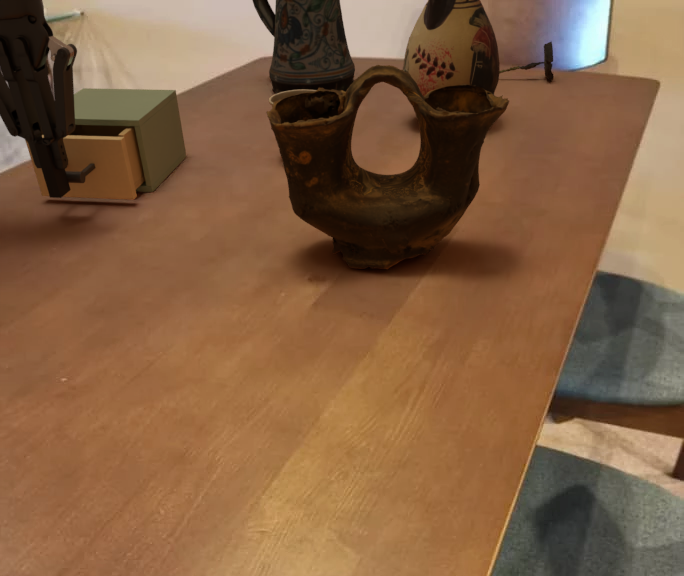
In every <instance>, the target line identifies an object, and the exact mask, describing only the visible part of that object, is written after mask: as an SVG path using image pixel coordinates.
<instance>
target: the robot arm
mask: <svg viewBox="0 0 684 576" xmlns="http://www.w3.org/2000/svg"><path fill="white" fill-rule="evenodd" d="M49 54H50V60H51V61H52V62H53V64H52V80H53V81H52V82H53V83H52V84H53V91H52V87H51V82H50V79H49V72H50V71H49V67H48V63H47V59H48V56H49ZM77 54H78V49H77V47H76V45H74V44H73V43H69V44H66V43H65V42H63V41H62V40H60V39H58V38H57V37H55V36H54V32H53V29H52V28H51V26H50V24H49V23H48V21H47V20H46V15H45V6H44V2H43V0H0V118H1V120H2V122H3V124H4V126H5V127H6V129H7V131H8V133H9V135H10V136H12V137H19V138H22V139H24V140H26V141H27V142H28V144H29V147H30V151H31V154H32V157H33V161H34V164H35V165H36V167H37V168H41V169H42V172H43V175H44V179H45V182H46V186H47V189H48V192H49V196H48V197H49V198H51V199H52V198H54V199H62V198H64V197H63V196H64V195H65V194H66V193H67V192H69V191H70V190H71V189H70V186H69V182H68V178H67V175H66V171H65V167H66V166H67V165H68V157H67V154H66V150H65V146H64V142H63V138H64V137H66V136H67V135H69V134H70V133H72V132H73V131H74V130H75V109H74V94H75V91H74V68H73V67H74V63H75V60H76V56H77ZM53 93H54V94H53ZM42 135H44V138H42ZM26 141H25V142H26Z"/></svg>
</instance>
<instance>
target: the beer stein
mask: <svg viewBox="0 0 684 576" xmlns="http://www.w3.org/2000/svg"><path fill="white" fill-rule="evenodd" d="M252 3H253V7H254V9H255V11H256V13H257V15H258V17H259V18H260V21H261V22H262V23H263V25H264V26H265V28H266V30H268V32H269V34H271V36H272V37H273V50H272V56H271V57H272V58H271V63H270V66H269V70H268V75H269V79H270V83H271V85H272V91H273V92H274V94H277V93H280V92H284V91H289V90H290V91H291V90H302V89H303V90H304V89H305V90H318V88H324V89H327V90H332V89H334V90H338V91H342V90H343V91H344V92H346V91H347V89H348V88H349V87H350V85H351V84H352V83H353V82H354V81H355V80H354V77H355V72H356V66H355V65H356V64H355V63H354V61H353V59H352V56H351V53H350V52H351V51H350V49H349V45H348V41H347V36H346V31H345V26H344V20H343V12H342V6H341V0H275V11H274V10H273V8H272V5H270V2H269V1H268V0H252Z"/></svg>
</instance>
